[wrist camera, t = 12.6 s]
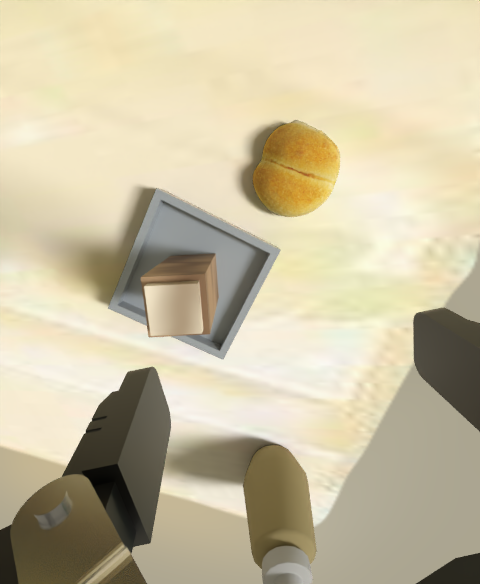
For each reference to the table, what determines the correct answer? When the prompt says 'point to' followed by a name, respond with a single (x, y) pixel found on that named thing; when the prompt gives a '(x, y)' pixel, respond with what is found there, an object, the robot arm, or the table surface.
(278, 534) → the squeeze bottle
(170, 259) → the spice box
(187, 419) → the table surface
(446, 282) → the table surface
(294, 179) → the bread roll
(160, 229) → the tray
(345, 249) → the table surface
